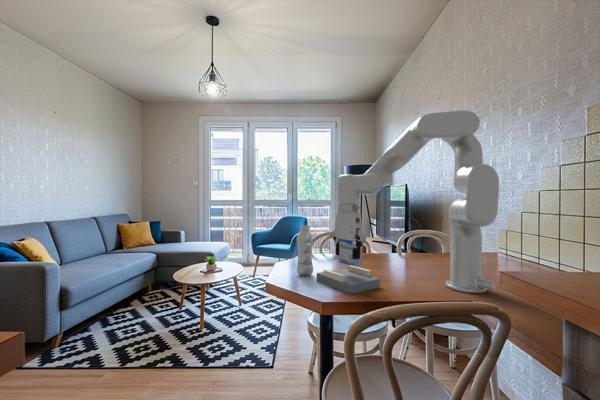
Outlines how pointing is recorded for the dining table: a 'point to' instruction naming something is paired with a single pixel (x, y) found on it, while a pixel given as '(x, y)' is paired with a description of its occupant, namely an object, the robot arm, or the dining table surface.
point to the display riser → (349, 279)
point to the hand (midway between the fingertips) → (347, 256)
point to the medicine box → (348, 253)
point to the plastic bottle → (304, 251)
